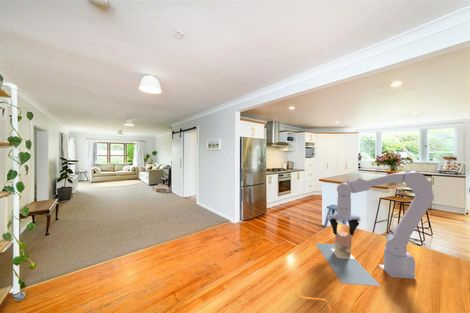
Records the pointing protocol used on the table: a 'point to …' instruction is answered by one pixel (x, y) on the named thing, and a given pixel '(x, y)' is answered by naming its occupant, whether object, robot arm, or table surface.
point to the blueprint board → (346, 267)
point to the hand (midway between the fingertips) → (343, 234)
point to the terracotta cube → (343, 239)
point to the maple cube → (342, 250)
